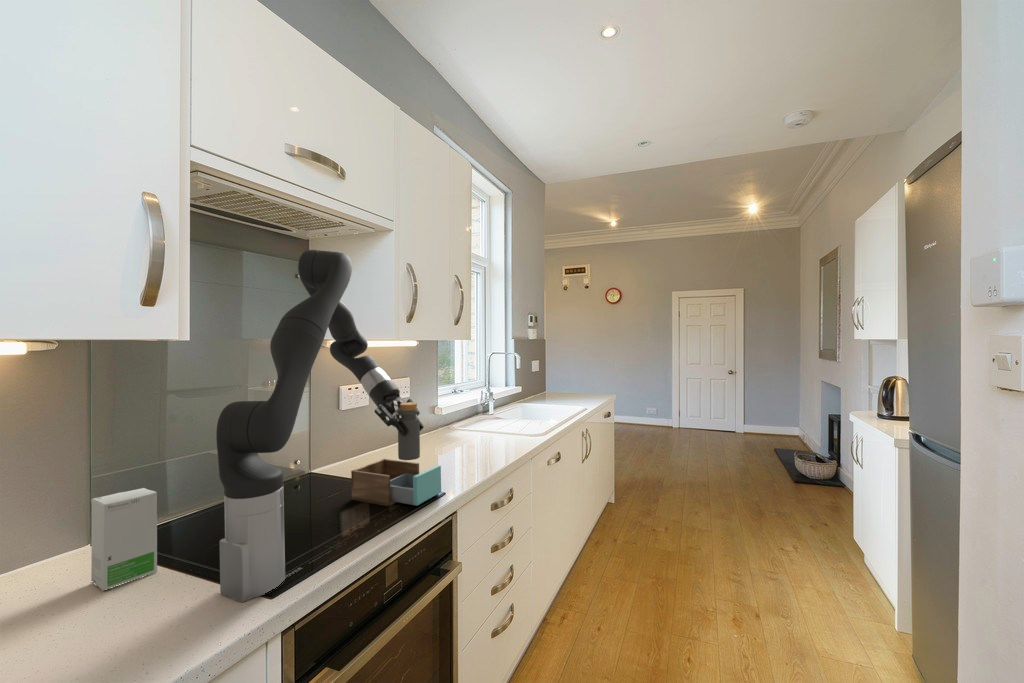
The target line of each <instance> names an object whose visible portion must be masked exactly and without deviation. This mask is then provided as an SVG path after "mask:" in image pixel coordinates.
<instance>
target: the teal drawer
mask: <svg viewBox="0 0 1024 683" xmlns="http://www.w3.org/2000/svg"><path fill="white" fill-rule="evenodd" d="M441 468H442V465H434V466H432V467H431V468H429V469H426V470H424V471H422V472H419V474H409V473H405V474H403V475H401V476H398V477H396V478H394V479H392V480H390V494H391V501H394V502H396V503H399V504H400V503H401V504H405V505H412V506H419V505H421V504H423V503H424V502H426V501H428V500H430V499H432V498H433V497H435V496H437V495H438V494H440V493H442V469H441Z"/></svg>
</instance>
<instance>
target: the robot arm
mask: <svg viewBox="0 0 1024 683" xmlns="http://www.w3.org/2000/svg"><path fill="white" fill-rule="evenodd" d="M297 271H298V275H299V278H300V282H301V283H302V286H303V287H304V289H305V290H306V292H307V293H308V294H309V297H307V298H306V299H304V300H302V301H301V302H299V303H298V304H296V305H294V306H292V308H291V309H289V310H288V311H287V312H286V313H284V315H283V316H282V317H281V318H280V321H279V322H278V324H277V327H276V328H275V331H274V332H273V335H272V337H271V340H270V344H269V345H270V354H271V358H272V361H273V363H274V367H275V370H276V374H277V380H276V383H275V387H274V388H273V391H272V393H271V395H270V397H269V398H268V399H267V400H240V401H238V400H237V401H233V402H231V403H229V404H227V405H226V406H225V407H224V408H223V409H222V411H221V412H220V414H219V417H218V419H217V424H216V433H215V434H216V437H215V438H216V439H215V440H216V451H217V462H218V463H217V464H218V473H219V474H218V475H219V480H220V482H221V484H222V486H223V492H224V494H223V495H224V496H223V498H224V500H223V501H224V538H223V537H222V539H220V540H219V581H220V582H219V583H220V584H219V586H220V587H219V589H220V593H219V594H220V595H222V596H224V597H227V598H230V599H233V600H235V601H238V602H241V603H243V602H246V601H248V600H251V599H254V598H257V597H261V596H264V595H266V594H265V593H267V592H269V591H271V590H272V589H275V588H276V587H278V586H279V585H280V584H281V583H282V582H283V581H284V582H285V579H286V556H285V554H286V553H285V552H286V551H285V550H286V548H285V547H286V546H285V544H286V543H285V542H286V541H285V501H284V499H285V496H284V495H285V494H284V492H285V490H284V489H285V488H284V472H283V471H282V470H281V468H278V467H276V466H274V465H272V464H270V463H268V462H266V461H265V460H263V459H262V457H261V456H260V454H269V453H270V454H272V453H276V452H279V451H280V450H282V449H283V448H284V447H285V446H286V444H287V443H288V441H289V439H290V437H291V434H292V432H293V430H294V427H295V424H296V420H297V417H298V412H299V409H300V405H301V402H302V399H303V394H304V392H305V387H306V385H307V382H308V379H309V377H310V374H311V371H312V368H313V366H314V364H315V361H316V359H317V357H318V355H319V353H320V350H321V347H322V346H323V343H324V340H325V337H326V333H327V331H328V330H329V333H330V335H331V337H332V338H333V340H334V341H333V342H331V344H330V345H329V353H330V355H331V356H332V358H333V359H334V360H335V361H336V362H338V363H339V364H340V365H342V366H343V367H345V368H346V369H348V371H350V372H351V373H352V374H353V375H354V376H355V378H356V379H357V380H358V381H359V383H360V385H361V386H362V388H363V390H364V391H365V392H366V394H367V395H368V396H369V397H370V399H371V400H372V402H373V403H374V404H375V406H376V408H375V409H374V413H375V415H376V416H378V418H379V419H380V420H381V421H382V422H383V423H384V424H385V425H386V427H390V426H392V427H394V428H396V430H397V432H398V431H399V432H400V434H401V435H402V436H406V435H407V434H408V433H409V430H408V428H407V427H406V426H405V424H404V423H403V422H402V421H401V419H400V418H401V415H400V412H399V411H400V410H401V408H400V404H401V403H414V401H413V400H412V399H411V398H408V399H407V400H404V399H403V398H402V397H401V395H400V392H401V391H400V389H399V388H398V387H397V385H396V384H395V383H394V382H393V380H392V379H391V378H390V376H389V375H388V374H387V373H386V372H385V371H384V370H383V369H382V368H381V366H380V365H379V364H378V362H377V361H376V360H375V359H374V358H373V356H371V355H362V354H363V353H365V352H366V351H367V350H368V346H369V344H368V340H367V339H366V338H365V336H364V335H363V334H362V333H361V332H360V331H359V329H358V328H357V325H356V322H355V318H354V316H353V313H352V311H351V310H350V308H349V306H347V305H346V304H345V303H344V302H343V301H342V300H341V299H342V297H343V296H344V293H345V291H346V290H347V288H348V286H349V283H350V281H351V276H352V272H353V262H352V260H351V258H350V257H349V255H348V254H346V253H343V252H339V251H329V250H319V249H306V250H304V251H302V252H301V255H300V256H299V259H298V264H297ZM360 355H361V356H360ZM358 356H359V357H358ZM416 409H417V410H418V413H417V414H416V417H417V418H418V416H420V414H421V413H420V411H419V409H418V408H417V407H416ZM419 423H420V432H421V431H423V430H424V424H423V423H422V422H421V421H420V420H419ZM284 582H283V583H284ZM283 583H282V584H283ZM282 584H281V585H282ZM281 585H280V586H281ZM280 586H279V587H280ZM279 587H278V588H279ZM276 589H277V588H276ZM276 589H275V590H276ZM271 592H272V591H271ZM269 593H270V592H269ZM267 594H268V593H267Z"/></svg>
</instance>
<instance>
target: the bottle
mask: <svg viewBox="0 0 1024 683" xmlns="http://www.w3.org/2000/svg"><path fill="white" fill-rule="evenodd" d="M417 405H418V403H417V402H413V403H401V404H400V408H401V410H400V411H399V412H400V415H401V416H400V419H401V421H402V422H403V423H404V424H405V426H406V427H407V428H408V430H409V433H408V434H407V435H406V436H402V435H401V434H400V432H399V431H398V430H397V444H398V445H397V452H398V453H397V454H398V455H397V456H398V459H399V461H414V460H418V459H419V458H420V457H421V450H420V449H421V444H420V443H421V442H420V441H421V438H420V437H421V431H420V423H419V421H420V418H419V417H418V416H417V417H416V414H417V413H418V411H419V409H418V408H417V409H418V410H417V409H416V407H417Z"/></svg>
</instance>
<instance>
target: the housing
mask: <svg viewBox="0 0 1024 683" xmlns="http://www.w3.org/2000/svg"><path fill="white" fill-rule="evenodd" d="M350 471H351V472H350V473H351V474H350V475H351V476H350V478H351V500H352V501H357V502H363V503H368V504H373V505H380V506H383V507H384V506H385V507H390V506H392V505H394V504H397V502H394V501H391V494H390V480H392V479H394V478H396V477H398V476H401V475H403V474H405V473H409V474H420V462H414V461H413V462H412V461H407V460H397V459H389V458H388V459H387V458H382V459H379V460H378V461H375V462H373V463H369V464H366V465H364V466H362V467H359V468H356V469H353V470H350Z"/></svg>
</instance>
